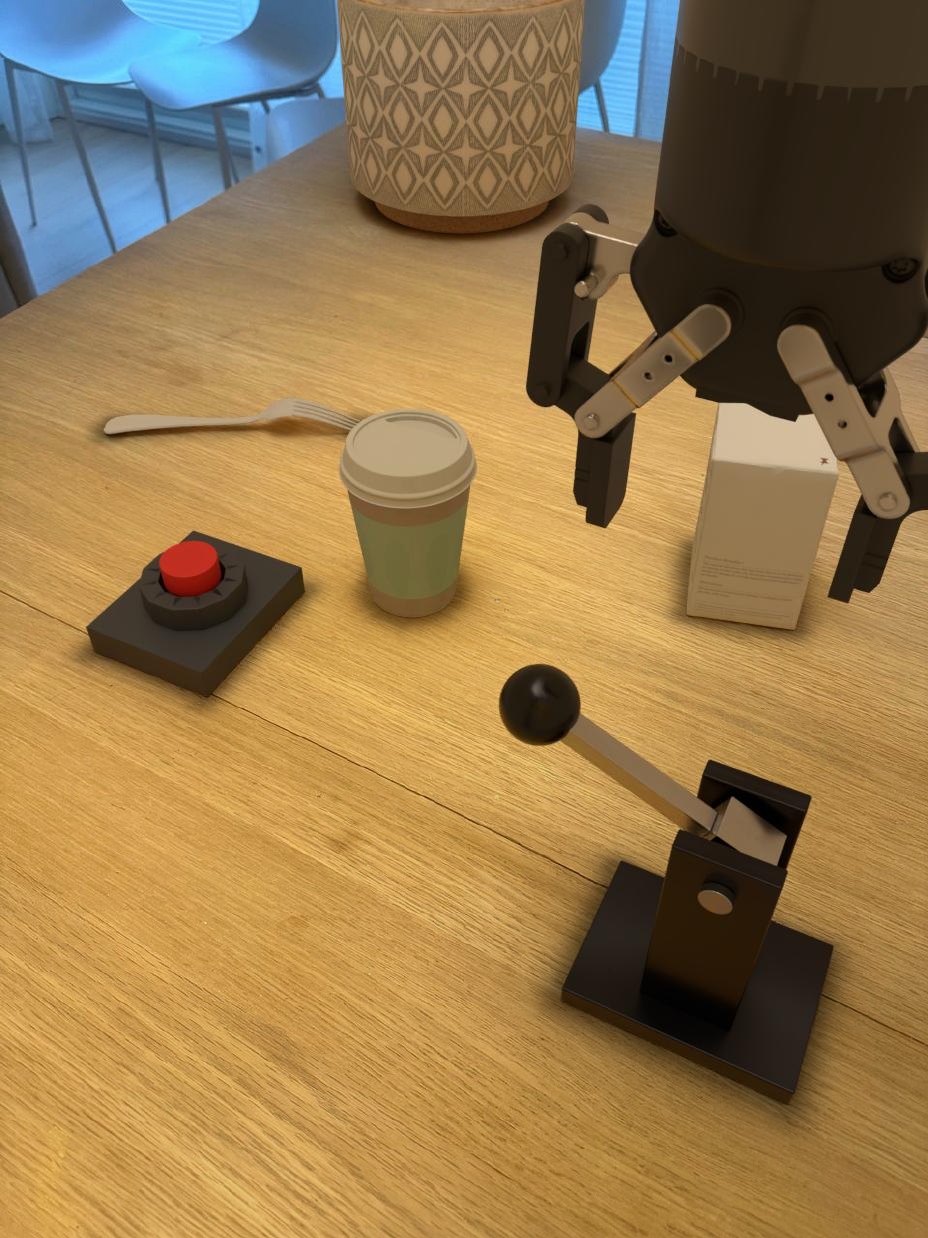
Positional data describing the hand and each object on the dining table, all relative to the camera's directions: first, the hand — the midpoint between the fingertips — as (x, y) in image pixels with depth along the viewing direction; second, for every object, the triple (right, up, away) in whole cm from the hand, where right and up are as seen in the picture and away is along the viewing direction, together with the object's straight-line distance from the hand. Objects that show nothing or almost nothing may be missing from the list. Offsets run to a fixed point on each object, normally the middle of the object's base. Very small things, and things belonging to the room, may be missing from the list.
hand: (719, 549), depth 37 cm
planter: (-9, +46, +86) cm, 98 cm away
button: (-26, 0, +31) cm, 40 cm away
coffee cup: (-12, 0, +36) cm, 38 cm away
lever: (-2, -10, +8) cm, 13 cm away
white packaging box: (+10, 0, +36) cm, 37 cm away
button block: (-26, -2, +33) cm, 42 cm away
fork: (-28, +13, +50) cm, 59 cm away
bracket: (+2, -20, +15) cm, 25 cm away
